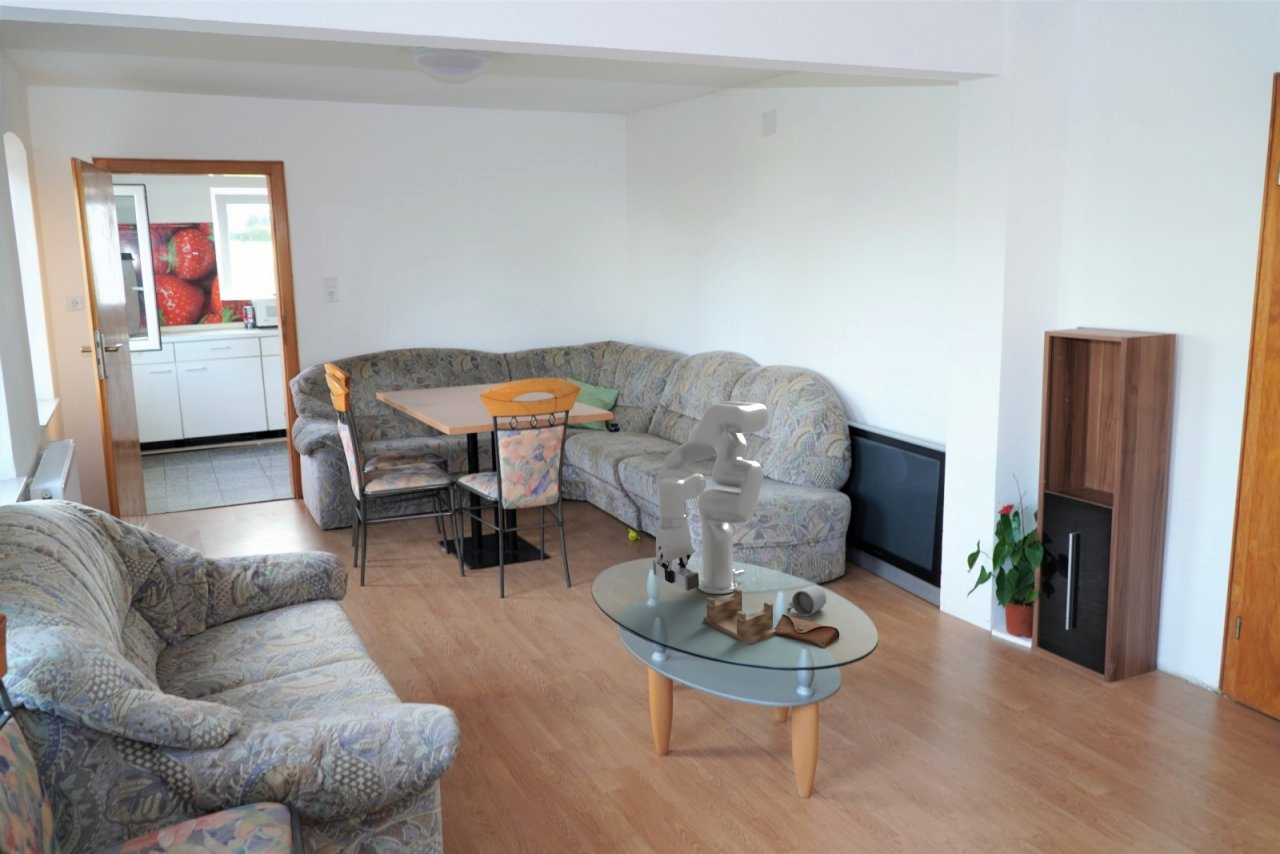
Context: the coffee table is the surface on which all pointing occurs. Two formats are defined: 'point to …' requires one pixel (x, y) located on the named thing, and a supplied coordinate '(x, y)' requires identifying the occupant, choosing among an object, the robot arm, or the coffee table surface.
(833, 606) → the coffee table surface
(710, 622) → the rack
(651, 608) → the coffee table surface
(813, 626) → the sunglasses case
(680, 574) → the rail
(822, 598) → the ceramic mug
